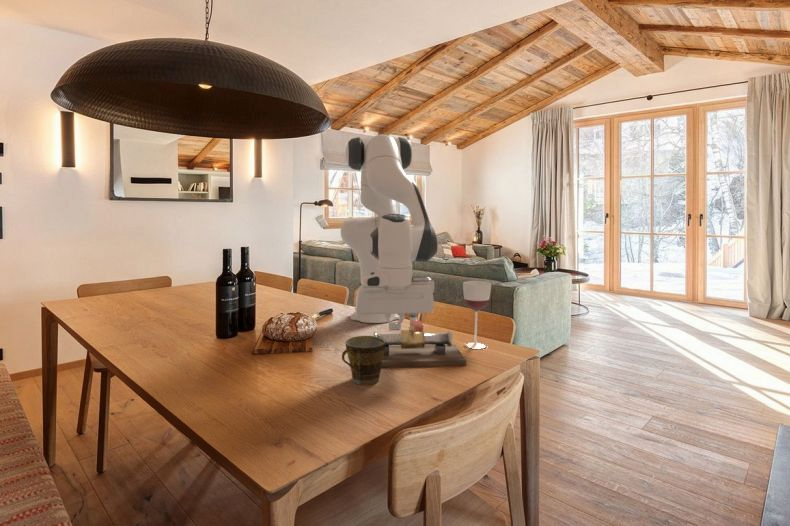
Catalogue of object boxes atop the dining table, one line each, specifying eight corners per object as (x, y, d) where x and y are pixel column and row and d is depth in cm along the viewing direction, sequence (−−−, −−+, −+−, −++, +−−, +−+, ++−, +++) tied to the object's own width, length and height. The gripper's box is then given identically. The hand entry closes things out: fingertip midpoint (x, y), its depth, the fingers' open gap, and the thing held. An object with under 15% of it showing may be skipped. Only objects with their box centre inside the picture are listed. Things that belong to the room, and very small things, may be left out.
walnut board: (363, 351, 136) (363, 346, 136) (455, 349, 139) (455, 344, 138) (363, 367, 123) (363, 362, 122) (465, 365, 125) (466, 360, 125)
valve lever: (407, 324, 131) (407, 311, 130) (416, 324, 131) (416, 311, 130) (413, 339, 117) (413, 324, 116) (423, 339, 117) (423, 323, 116)
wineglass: (456, 343, 144) (458, 281, 142) (480, 341, 147) (482, 280, 145) (469, 351, 137) (471, 285, 135) (494, 348, 140) (496, 284, 138)
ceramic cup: (364, 369, 121) (364, 333, 120) (393, 379, 115) (394, 340, 113) (328, 384, 111) (327, 344, 110) (357, 395, 105) (357, 353, 103)
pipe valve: (373, 350, 132) (373, 325, 131) (448, 349, 134) (448, 324, 133) (374, 356, 127) (374, 330, 126) (452, 355, 129) (452, 329, 128)
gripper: (431, 275, 122) (431, 325, 123) (355, 276, 119) (355, 327, 121) (437, 278, 116) (436, 331, 117) (356, 280, 113) (356, 334, 114)
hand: (394, 329), depth 119 cm, fingers closed
